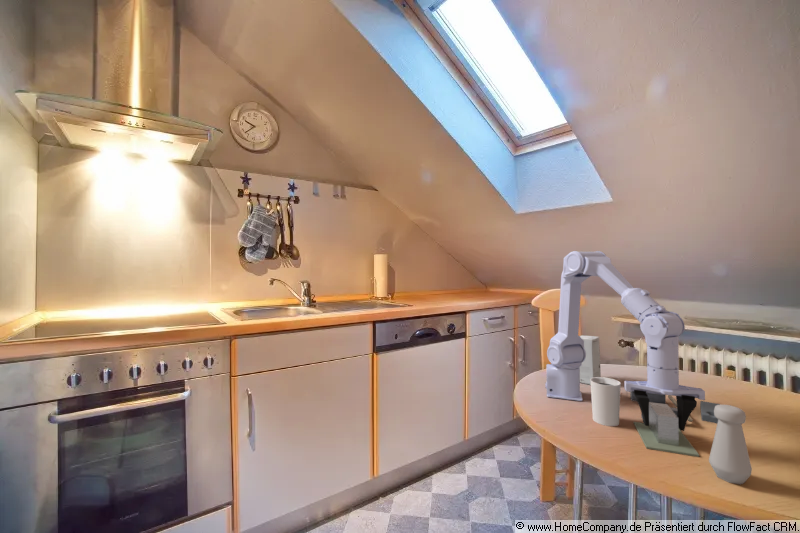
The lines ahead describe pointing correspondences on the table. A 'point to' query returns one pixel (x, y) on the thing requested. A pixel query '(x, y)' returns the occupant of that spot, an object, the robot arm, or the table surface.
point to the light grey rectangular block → (663, 424)
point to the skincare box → (590, 359)
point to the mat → (653, 444)
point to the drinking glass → (605, 400)
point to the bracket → (708, 411)
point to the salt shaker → (730, 446)
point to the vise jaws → (659, 401)
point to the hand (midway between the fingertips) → (663, 426)
